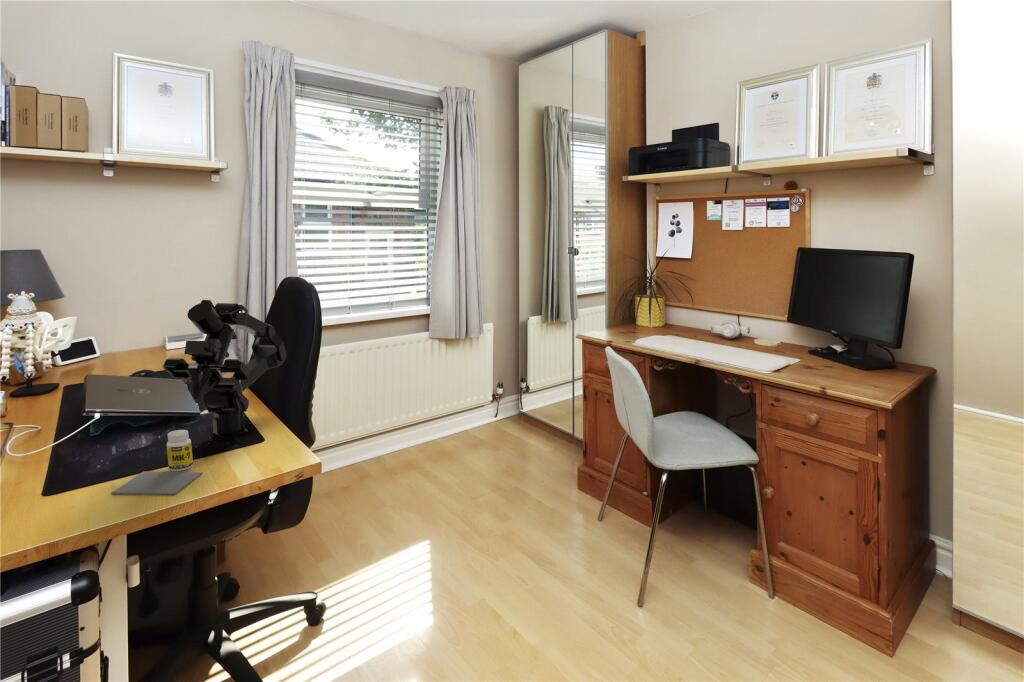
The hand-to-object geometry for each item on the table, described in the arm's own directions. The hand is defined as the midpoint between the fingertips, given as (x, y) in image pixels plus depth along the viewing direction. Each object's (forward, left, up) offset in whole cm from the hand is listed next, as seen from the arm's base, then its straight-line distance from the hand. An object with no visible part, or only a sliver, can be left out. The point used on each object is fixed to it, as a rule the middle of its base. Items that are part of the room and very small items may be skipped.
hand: (195, 399), depth 130 cm
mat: (+12, +10, -14) cm, 21 cm away
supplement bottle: (+6, +5, -14) cm, 16 cm away
